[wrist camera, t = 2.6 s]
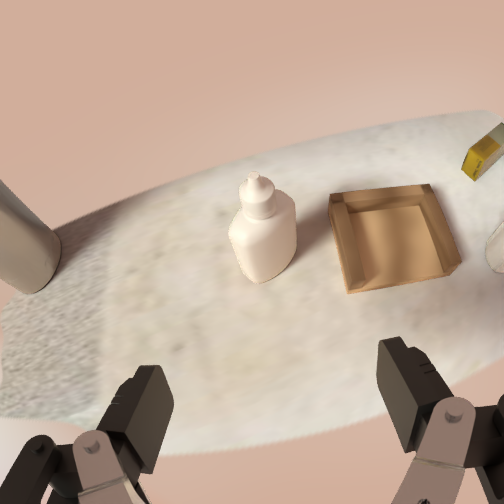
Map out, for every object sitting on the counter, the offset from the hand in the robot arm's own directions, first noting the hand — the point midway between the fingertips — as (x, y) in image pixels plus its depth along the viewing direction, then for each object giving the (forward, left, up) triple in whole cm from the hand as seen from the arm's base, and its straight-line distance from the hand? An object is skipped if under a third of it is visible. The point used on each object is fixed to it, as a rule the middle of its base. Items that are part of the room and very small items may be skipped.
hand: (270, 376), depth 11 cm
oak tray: (+12, +12, -15) cm, 23 cm away
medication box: (+31, +23, -16) cm, 42 cm away
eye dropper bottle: (0, +12, -16) cm, 20 cm away
